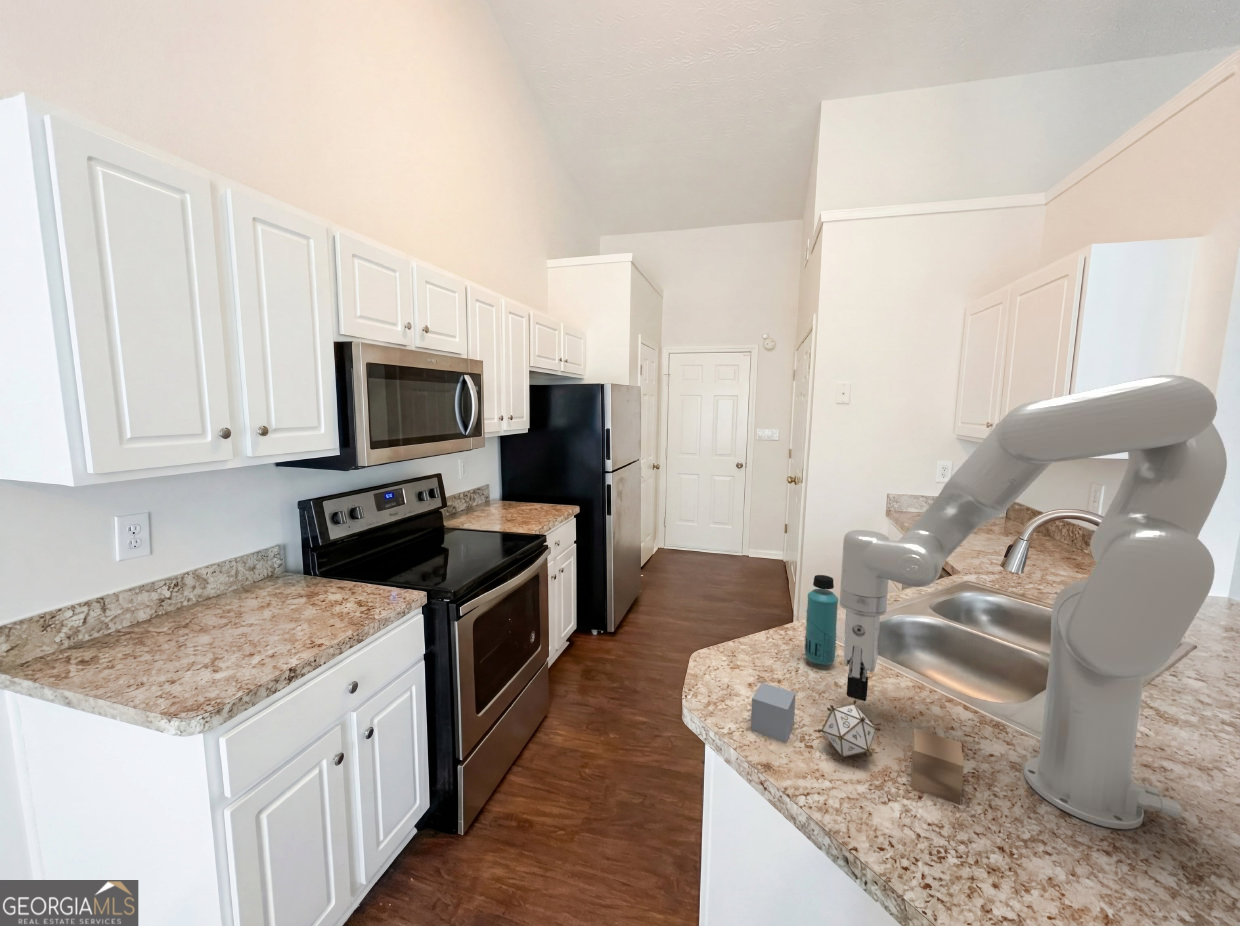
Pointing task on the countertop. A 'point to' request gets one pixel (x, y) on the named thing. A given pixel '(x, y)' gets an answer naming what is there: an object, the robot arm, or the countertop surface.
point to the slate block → (773, 712)
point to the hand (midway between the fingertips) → (856, 696)
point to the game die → (849, 730)
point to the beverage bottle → (821, 622)
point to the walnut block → (937, 766)
